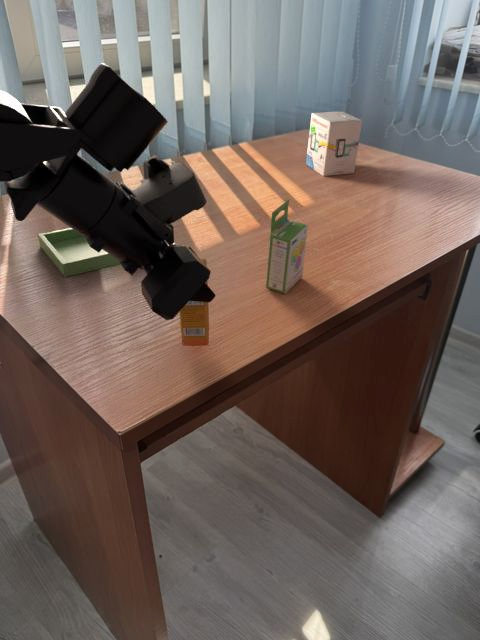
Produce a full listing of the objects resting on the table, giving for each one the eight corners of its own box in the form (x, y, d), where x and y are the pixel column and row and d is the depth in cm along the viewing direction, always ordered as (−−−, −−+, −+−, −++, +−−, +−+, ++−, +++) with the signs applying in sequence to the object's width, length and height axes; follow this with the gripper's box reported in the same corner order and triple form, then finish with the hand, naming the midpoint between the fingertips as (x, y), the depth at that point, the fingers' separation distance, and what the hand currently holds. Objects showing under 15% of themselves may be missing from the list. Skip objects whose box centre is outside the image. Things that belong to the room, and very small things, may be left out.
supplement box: (181, 330, 64) (178, 256, 58) (209, 331, 64) (209, 257, 58) (179, 346, 61) (176, 270, 55) (208, 347, 61) (209, 271, 55)
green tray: (65, 277, 75) (62, 264, 74) (40, 246, 82) (37, 234, 81) (161, 253, 82) (160, 241, 81) (131, 227, 90) (130, 215, 88)
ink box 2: (304, 164, 123) (310, 111, 116) (335, 161, 126) (342, 110, 119) (323, 176, 117) (330, 121, 109) (354, 173, 120) (363, 119, 113)
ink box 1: (286, 295, 74) (293, 218, 67) (264, 288, 76) (270, 212, 68) (302, 277, 79) (311, 203, 72) (282, 271, 80) (288, 198, 73)
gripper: (186, 172, 40) (294, 274, 51) (124, 114, 54) (220, 206, 64) (96, 278, 42) (219, 355, 53) (57, 196, 55) (162, 272, 66)
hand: (205, 289), depth 59 cm, fingers closed on supplement box, 4 cm apart
